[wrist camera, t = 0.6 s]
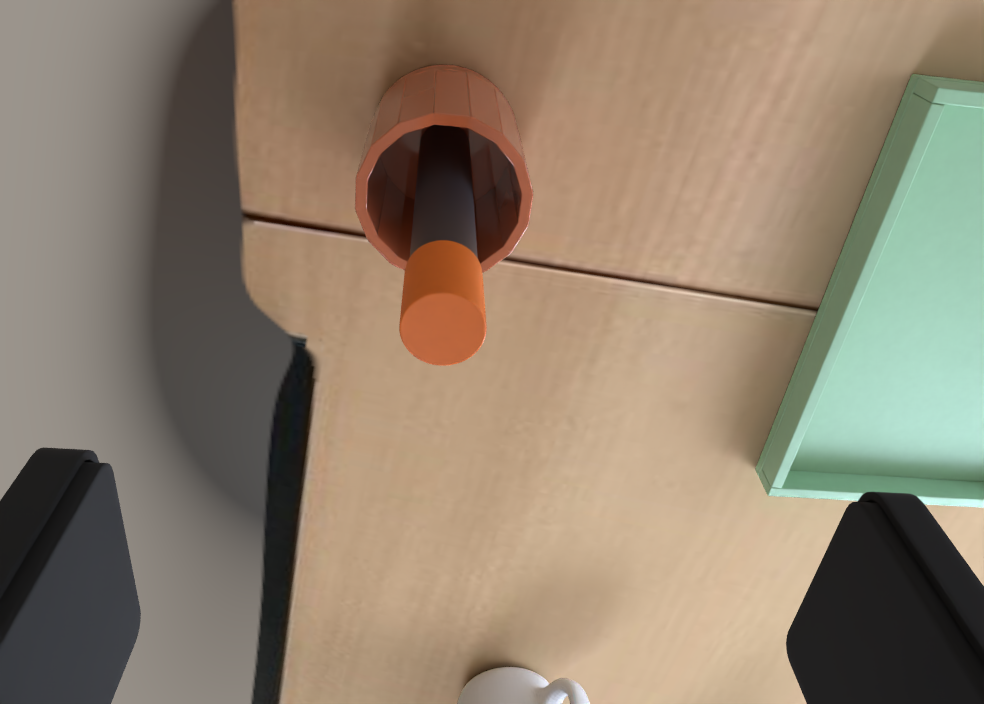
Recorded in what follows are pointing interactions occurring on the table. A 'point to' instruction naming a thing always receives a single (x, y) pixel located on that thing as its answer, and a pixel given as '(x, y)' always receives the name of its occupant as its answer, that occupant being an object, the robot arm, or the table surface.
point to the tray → (899, 324)
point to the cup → (519, 688)
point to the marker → (443, 255)
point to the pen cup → (396, 152)
